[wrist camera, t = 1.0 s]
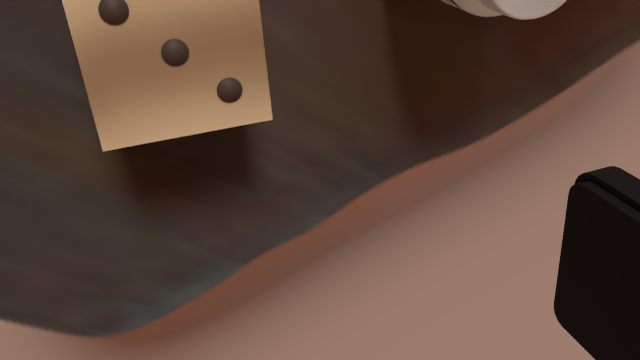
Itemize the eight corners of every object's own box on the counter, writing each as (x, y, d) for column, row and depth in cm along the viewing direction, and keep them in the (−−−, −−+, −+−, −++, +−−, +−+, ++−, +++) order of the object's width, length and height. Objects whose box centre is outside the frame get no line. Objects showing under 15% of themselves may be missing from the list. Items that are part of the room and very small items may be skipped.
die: (64, -55, 23) (53, -32, 18) (220, -71, 24) (252, -55, 19) (102, 94, 26) (103, 152, 20) (240, 72, 27) (272, 120, 22)
